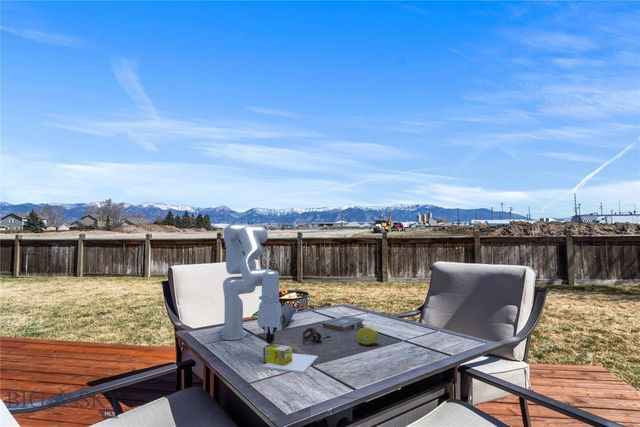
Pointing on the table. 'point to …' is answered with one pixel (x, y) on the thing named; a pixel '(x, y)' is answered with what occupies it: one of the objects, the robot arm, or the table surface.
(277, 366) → the flat white board
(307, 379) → the table surface
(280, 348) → the supplement box
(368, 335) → the lemon
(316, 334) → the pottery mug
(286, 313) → the bluetooth speaker
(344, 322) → the book
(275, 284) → the robot arm
